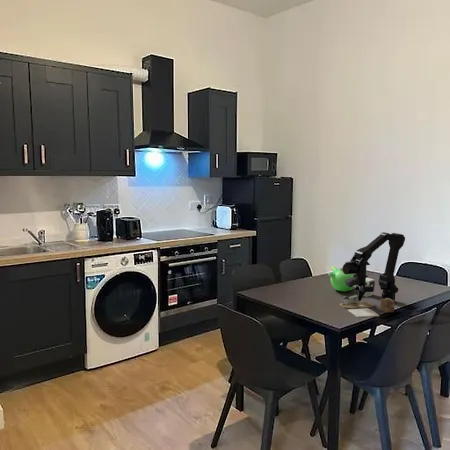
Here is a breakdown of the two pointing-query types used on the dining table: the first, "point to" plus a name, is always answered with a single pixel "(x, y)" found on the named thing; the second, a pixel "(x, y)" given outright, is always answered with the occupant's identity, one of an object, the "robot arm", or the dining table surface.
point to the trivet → (363, 312)
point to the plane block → (356, 305)
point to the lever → (350, 299)
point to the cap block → (387, 305)
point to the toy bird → (339, 279)
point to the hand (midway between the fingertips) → (359, 300)
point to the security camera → (371, 283)
